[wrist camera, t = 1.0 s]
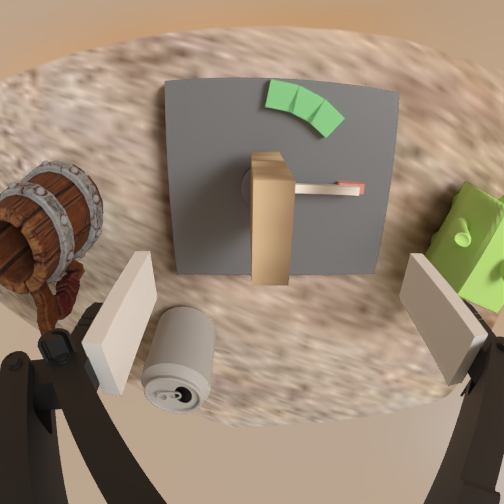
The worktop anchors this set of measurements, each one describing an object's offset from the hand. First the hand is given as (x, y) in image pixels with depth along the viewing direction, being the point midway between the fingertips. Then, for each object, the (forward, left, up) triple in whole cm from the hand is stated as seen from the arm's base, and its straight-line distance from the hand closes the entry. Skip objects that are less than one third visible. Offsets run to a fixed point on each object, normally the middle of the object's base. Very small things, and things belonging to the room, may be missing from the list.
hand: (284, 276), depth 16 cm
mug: (-22, -4, -19) cm, 29 cm away
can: (-9, -19, -19) cm, 28 cm away
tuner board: (+2, 0, -19) cm, 19 cm away
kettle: (+25, -5, -19) cm, 31 cm away
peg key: (+3, 0, -16) cm, 17 cm away
